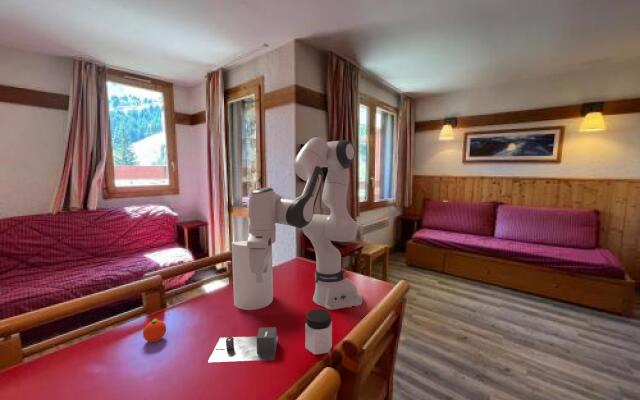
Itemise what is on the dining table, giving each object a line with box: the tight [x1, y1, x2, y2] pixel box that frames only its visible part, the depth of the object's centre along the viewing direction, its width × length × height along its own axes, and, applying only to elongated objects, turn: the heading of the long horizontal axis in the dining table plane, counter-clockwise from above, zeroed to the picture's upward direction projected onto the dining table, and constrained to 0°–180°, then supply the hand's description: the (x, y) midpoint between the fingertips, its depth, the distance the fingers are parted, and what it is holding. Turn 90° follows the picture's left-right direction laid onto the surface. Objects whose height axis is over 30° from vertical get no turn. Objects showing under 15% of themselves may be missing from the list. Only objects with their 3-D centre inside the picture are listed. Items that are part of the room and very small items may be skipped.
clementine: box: [142, 318, 167, 343], centre depth 95 cm, size 8×7×7 cm
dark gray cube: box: [256, 326, 278, 354], centre depth 89 cm, size 6×6×6 cm
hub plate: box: [207, 335, 279, 363], centre depth 89 cm, size 20×12×4 cm, turn 93°
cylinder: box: [231, 240, 274, 311], centre depth 122 cm, size 17×17×28 cm
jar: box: [304, 308, 333, 356], centre depth 90 cm, size 9×8×12 cm
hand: (262, 276), depth 92 cm, fingers open, 8 cm apart
